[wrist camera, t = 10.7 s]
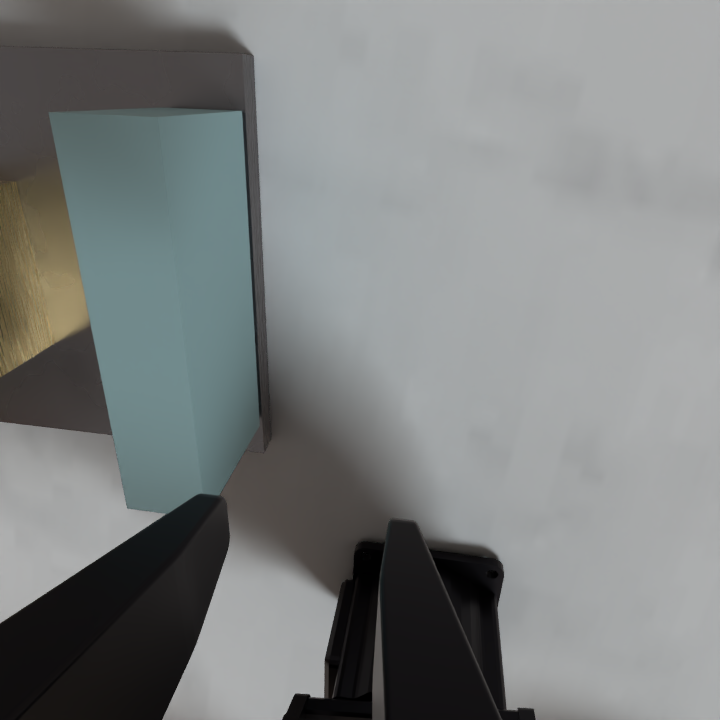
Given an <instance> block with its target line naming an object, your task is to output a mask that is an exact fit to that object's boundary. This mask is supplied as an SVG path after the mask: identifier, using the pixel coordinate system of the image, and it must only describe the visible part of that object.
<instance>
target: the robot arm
mask: <svg viewBox="0 0 720 720" xmlns="http://www.w3.org/2000/svg"><path fill="white" fill-rule="evenodd" d="M229 541H230V533H229V523H228V512H227V503H226V500H225V498H224V497H222V496H220V495H212V494H204V493H201V494H197V495H195V496H194V497H192V498H191V499H189V500H187V501H186V502H184V503H183V504H181V505H180V506H178V507H177V508H175V509H174V510H172V511H171V512H169V513H168V514H166V515H165V516H163V517H162V518H160V519H159V520H157V521H155V522H154V523H152V524H151V525H149V526H148V527H146V528H145V529H143V530H142V531H140V532H139V533H137V534H136V535H134V536H133V537H131V538H130V539H128V540H127V541H125V542H124V543H122V544H120V545H119V546H117V547H116V548H114V549H113V550H111V551H110V552H108V553H107V554H105V555H104V556H102V557H101V558H99V559H98V560H96V561H95V562H93V563H92V564H90V565H88V566H87V567H85V568H84V569H82V570H81V571H79V572H78V573H76V574H75V575H73V576H72V577H70V578H69V579H67V580H66V581H64V582H63V583H61V584H60V585H58V586H56V587H55V588H53V589H52V590H50V591H49V592H47V593H46V594H44V595H43V596H41V597H40V598H38V599H37V600H35V601H34V602H32V603H31V604H29V605H28V606H26V607H24V608H23V609H21V610H20V611H18V612H17V613H15V614H14V615H12V616H11V617H9V618H8V619H6V620H5V621H3V622H2V623H0V720H162V719H163V717H164V714H165V712H166V710H167V708H168V706H169V703H170V701H171V699H172V697H173V695H174V692H175V690H176V688H177V686H178V684H179V681H180V679H181V677H182V675H183V673H184V670H185V668H186V666H187V664H188V662H189V659H190V657H191V655H192V652H193V650H194V648H195V645H196V643H197V640H198V637H199V634H200V632H201V629H202V626H203V623H204V620H205V617H206V614H207V611H208V608H209V605H210V602H211V599H212V596H213V593H214V590H215V587H216V584H217V581H218V578H219V575H220V572H221V569H222V566H223V563H224V560H225V557H226V554H227V551H228V547H229ZM363 552H366V553H369V554H364V553H363ZM489 570H495V571H489ZM503 578H504V570H503V565H502V563H501V562H500V561H498V560H496V559H492V558H484V557H477V556H470V555H462V554H455V553H448V552H440V551H433V550H429V549H428V547H427V545H426V542H425V540H424V538H423V535H422V533H421V531H420V528H419V526H418V524H417V523H416V522H415V521H412V520H404V519H396V518H392V519H390V521H389V523H388V528H387V535H386V541H385V544H381V543H374V542H360V543H358V544H357V545H356V548H355V553H354V568H353V580H348V579H347V580H345V581H344V582H343V583H342V585H341V589H340V594H339V598H338V603H337V607H336V612H335V616H334V621H333V625H332V630H331V634H330V639H329V643H328V647H327V652H326V656H325V688H324V697H325V698H316V697H310V695H309V694H295V695H294V697H293V699H292V702H291V704H290V706H289V708H288V711H287V713H286V714H285V715H284V717H283V719H282V720H536V719H535V714H534V709H531V708H518V711H516V710H507V709H506V698H505V687H504V676H503V665H502V654H501V643H500V632H499V621H498V610H497V607H498V603H499V598H500V593H501V588H502V583H503Z"/></svg>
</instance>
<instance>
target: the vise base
mask: <svg viewBox="0 0 720 720" xmlns="http://www.w3.org/2000/svg"><path fill="white" fill-rule="evenodd" d="M161 107H163V108H187V109H210V110H234V111H242V120H243V138H244V155H245V173H246V191H247V208H248V226H249V244H250V262H251V279H252V297H253V315H254V332H255V350H256V368H257V386H258V403H259V421H260V426H259V428H258V429H257V431H256V433H255V435H254V436H253V438H252V440H251V441H250V443H249V445H248V447H247V448H246V450H245V451H251V452H260V453H264V452H265V450H266V448H267V446H268V444H269V442H270V440H271V425H270V403H269V381H268V360H267V338H266V316H265V295H264V273H263V251H262V230H261V208H260V186H259V164H258V143H257V121H256V99H255V78H254V56H253V55H248V54H243V53H213V52H179V51H145V50H111V49H78V48H44V47H10V46H0V181H16V183H17V187H18V191H19V195H20V200H21V204H22V208H23V212H24V216H25V221H26V225H27V229H28V233H29V237H30V241H31V246H32V250H33V254H34V258H35V262H36V267H37V271H38V275H39V279H40V283H41V287H42V292H43V296H44V300H45V304H46V308H47V313H48V317H49V321H50V325H51V329H52V333H53V338H54V342H55V343H54V344H53V345H51V346H50V347H48V348H47V349H45V350H43V351H42V352H40V353H39V354H37V355H35V356H34V357H32V358H31V359H29V360H27V361H26V362H24V363H23V364H21V365H19V366H18V367H16V368H15V369H13V370H11V371H10V372H8V373H7V374H5V375H3V376H2V377H0V422H7V423H16V424H24V425H33V426H41V427H50V428H58V429H66V430H75V431H83V432H92V433H100V434H108V435H113V434H112V429H111V424H110V419H109V414H108V409H107V404H106V399H105V394H104V389H103V384H102V379H101V374H100V369H99V364H98V359H97V354H96V349H95V344H94V339H93V334H92V329H91V324H90V319H89V314H88V309H87V304H86V299H85V294H84V289H83V284H82V279H81V274H80V269H79V264H78V258H77V253H76V248H75V243H74V238H73V233H72V228H71V223H70V218H69V213H68V208H67V203H66V198H65V193H64V188H63V183H62V178H61V173H60V168H59V163H58V158H57V153H56V148H55V143H54V138H53V133H52V128H51V123H50V118H49V113H48V112H67V111H90V110H114V109H137V108H161Z"/></svg>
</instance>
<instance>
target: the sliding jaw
mask: <svg viewBox="0 0 720 720" xmlns="http://www.w3.org/2000/svg"><path fill="white" fill-rule="evenodd" d="M48 113H49V118H50V123H51V128H52V133H53V138H54V143H55V148H56V153H57V158H58V163H59V168H60V173H61V178H62V183H63V188H64V193H65V198H66V203H67V208H68V213H69V218H70V223H71V228H72V233H73V238H74V243H75V248H76V253H77V258H78V264H79V269H80V274H81V279H82V284H83V289H84V294H85V299H86V304H87V309H88V314H89V319H90V324H91V329H92V334H93V339H94V344H95V349H96V354H97V359H98V364H99V369H100V374H101V379H102V384H103V389H104V394H105V399H106V404H107V409H108V414H109V419H110V424H111V429H112V434H113V439H114V444H115V449H116V454H117V459H118V464H119V469H120V474H121V479H122V485H123V490H124V495H125V500H126V505H127V508H128V509H135V510H143V511H150V512H157V513H165V514H168V513H169V512H171V511H172V510H174V509H175V508H177V507H178V506H180V505H181V504H183V503H184V502H186V501H187V500H189V499H191V498H192V497H194V496H195V495H197V494H201V493H204V494H212V495H220V493H221V492H222V490H223V488H224V486H225V485H226V483H227V481H228V479H229V478H230V476H231V474H232V473H233V471H234V469H235V467H236V466H237V464H238V462H239V460H240V459H241V457H242V455H243V454H244V452H245V450H246V448H247V447H248V445H249V443H250V441H251V440H252V438H253V436H254V435H255V433H256V431H257V429H258V428H259V426H260V421H259V403H258V386H257V368H256V350H255V332H254V315H253V297H252V279H251V262H250V244H249V226H248V208H247V191H246V173H245V155H244V138H243V120H242V111H234V110H210V109H187V108H163V107H161V108H137V109H114V110H90V111H67V112H48Z"/></svg>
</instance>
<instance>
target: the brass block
mask: <svg viewBox="0 0 720 720" xmlns="http://www.w3.org/2000/svg"><path fill="white" fill-rule="evenodd" d="M54 343H55V342H54V338H53V333H52V329H51V325H50V321H49V317H48V313H47V308H46V304H45V300H44V296H43V292H42V287H41V283H40V279H39V275H38V271H37V267H36V262H35V258H34V254H33V250H32V246H31V241H30V237H29V233H28V229H27V225H26V221H25V216H24V212H23V208H22V204H21V200H20V195H19V191H18V187H17V183H16V181H0V377H2V376H3V375H5V374H7V373H8V372H10V371H11V370H13V369H15V368H16V367H18V366H19V365H21V364H23V363H24V362H26V361H27V360H29V359H31V358H32V357H34V356H35V355H37V354H39V353H40V352H42V351H43V350H45V349H47V348H48V347H50V346H51V345H53V344H54Z"/></svg>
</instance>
